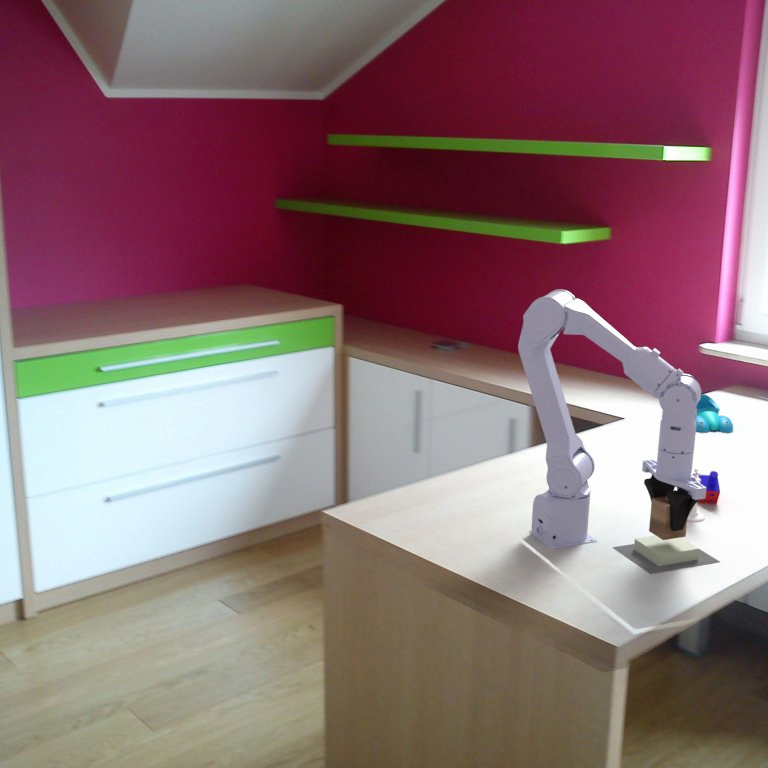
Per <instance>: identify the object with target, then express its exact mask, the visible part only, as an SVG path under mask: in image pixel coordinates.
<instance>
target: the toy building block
mask: <svg viewBox="0 0 768 768" xmlns="http://www.w3.org/2000/svg"><path fill="white" fill-rule="evenodd" d="M697 477H698V478H700V479H701V482H700V484H701V485H703V486H704V487H706V497H705V499H699V500H698V501H697V503H702V504H705V503H706V504H715V505H716V504H718V501H719V498H720V493H721V490H720V483H719V473H718V472H717V471H715V470H711V471H710V472H709V474H701V475H700V476H698V475H697Z"/></svg>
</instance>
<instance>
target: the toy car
mask: <svg viewBox="0 0 768 768" xmlns="http://www.w3.org/2000/svg"><path fill="white" fill-rule="evenodd" d="M696 408H697V412H696V413H697V418H696V433H704V434H706V433H709V432H720V433H726V434H729V433H732V432H733V431H734V424H733V422H732V420H731V419H730V418H729V417H727V416H725V415H719V414H720V410H721V409H720V407H719V405H718V404H717V403H716V402H715V400H714V399H713V398H711V396H709V395H707V394H702V393H701V398H700V400H699V402H698V403H697V407H696Z"/></svg>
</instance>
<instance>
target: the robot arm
mask: <svg viewBox="0 0 768 768" xmlns="http://www.w3.org/2000/svg"><path fill="white" fill-rule="evenodd" d="M522 317H523V318H522V319H523V323H522V327H521V331H520V336H519V340H518V344H517V345H518V346H517V348H518V354H519V357H520V361H521V363H522V366H523V371H524V372H525V375H526V379H527V383H528V386H529V389H530V392H531V395H532V399H533V403H534V405H535V409H536V412H537V415H538V419H539V423H540V426H541V428H542V431H543V435H544V438H545V441H546V453H545V463H546V465H547V472H546V483H547V486H548V489H547V490H545V492H543V493H541V494H537V495H536V496H535V497H534V500H533V502H532V515H531V529H530V530H529V533H530V534H531V535H532V536H534V537H535V538H536V539H538V540H539V541H540V542H542V543H543V544H544V545H545V546H546V547H547V548H549V549H558V548H566V547H572V546H579V545H583V544H584V545H586V544H591V543H597V541H598V540H597V538H594V537H593V536H592V535H590V534H589V533H588V528H589V516H590V515H589V514H590V513H589V512H590V505H591V503H590V501H591V488H590V485H589V482H588V480H589V479H590V478H591V477H592V475H593V474H594V472H595V467H596V466H595V460H594V458H593V457H592V455H591V454H590V453H589V452H588V451H587V450H586V448H585V446H584V442H583V440H582V439H581V438H580V437H579V436H578V435H577V434H576V431H575V428H574V425H573V420H572V418H571V415H570V411H569V408H568V405H567V401H566V398H565V395H564V391H563V389H562V385H561V382H560V378H559V375H558V373H557V372H558V371H557V369H556V365H555V362H554V358H553V355H552V351H551V348H552V347H553V345H554V343H555V341H556V339H557V338H558V336H559V335H560V333H561V332H562V331H563V332H562V333H563V335H574V336H575V335H576V336H577V335H579V336H580V335H581V336H585V337H586V338H587V339H588V340H590V341H592V342H593V343H594V344H595V345H597V346H599V347H600V348H601V349H603V350H604V351H606V352H607V353H609V354H610V355H611V356H612V357H614V358H615V359H617V360H618V361H620V362H621V364H622V367H623V372H624V375H626V376H627V377H628V378H629V379H631V380H632V381H633V382H635V383H636V384H637V385H638V386H640V387H641V388H642V389H643V390H645V391H646V392H647V393H648V394H650V395H652V397H653V398H657V399H658V401H659V403H658V404H659V405H660V409H662V412H661V415H662V416H661V419H660V425H659V435H658V447H657V454H656V455H657V456H656V458H657V459H656V460H654V459H646V460H642V468H641V469H642V470H641V471H642V472H644V473H650V474H651V476H650V477H649V478H645V479H644V480H643V481H644V482H643V484H644V486H645V488H646V490H647V491H648V492H647V493H648V495H649V497H650V502H651V503H652V498H658V497H665V496H667V497H668V500H669V505H670V526H671V530H672V531H679V530H683V528H684V526H685V523H686V521H687V518H688V516H689V514H690V512H691V510H692V508H693V507H694V505H695V504H696V503H697V504H698V500H699V499H705V497H706V487H704V486H703V485H701V484H700V483H699V481H698V480H697V479H696V478H695V476H696V472H694V471H695V470H693V464H694V463H693V462H694V453H695V452H694V451H695V443H696V435H697V434H696V433H697V431H696V418H697V413H696V412H697V408H696V407H697V403H698V402H699V400H700V398H701V394H702V388H701V385H700V383H699V382H698V380H697V379H695V377H694V376H693V375H691V374H687V373H684V371H683V370H682V369H681V368H678V369H676V368H675V367H674V366H673V365H671V364H670V363H668V361H666V360H665V359H663V358H662V357H661V356H660V355H661V351H659V350H658V349H657V348H653V349H651V348H649V347H648V346H642V347H641V346H638V347H636V346H635V345H634V344H632V343H631V341H629V340H628V339H627V338H626V337H624V335H622V334H621V333H620V332H619V331H617V330H616V329H615V328H614V327H613V326H612V325H611V324H609V323H608V321H606V320H604V319H603V318H602V317H601V316H600V315H599V314H598V313H596V312H595V311H594V310H593V309H592V308H591V307H590V306H589V305H588V304H587V303H586V302H585V301H583V300H581V299H579V298H576V297H575V295H574V294H572V293H571V292H570V291H568V290H566V289H562V288H561V289H554V290H552V291H550V292H548V294H546V295H544V296H542V297H537V299H535V300H534V301H533V302H532V303H531V304H530V306H529V307H528V308H527V309H526V311H525V312H524V313H523V316H522ZM675 488H676V489H677V490H676V489H675ZM687 522H688V521H687Z"/></svg>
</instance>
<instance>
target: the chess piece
mask: <svg viewBox="0 0 768 768" xmlns="http://www.w3.org/2000/svg"><path fill="white" fill-rule="evenodd" d="M693 471H694V472H696V476H695V478H696V479H697V480H698V481H699V483H700V482H701V479H700V478H698V476H700V475H702V473H701V472H698V471H699V469H698V468H694V470H693ZM697 504H698V502H697V503H696V504H695V505H694V507H693V508H692V510H691V512H690V514H689V516H688V518H687V522H695V523H698V522H699V523H700V522H703V521H704V520H705V518H706V517H705V515H704V514H702V512H699V510H698V506H697Z"/></svg>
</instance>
